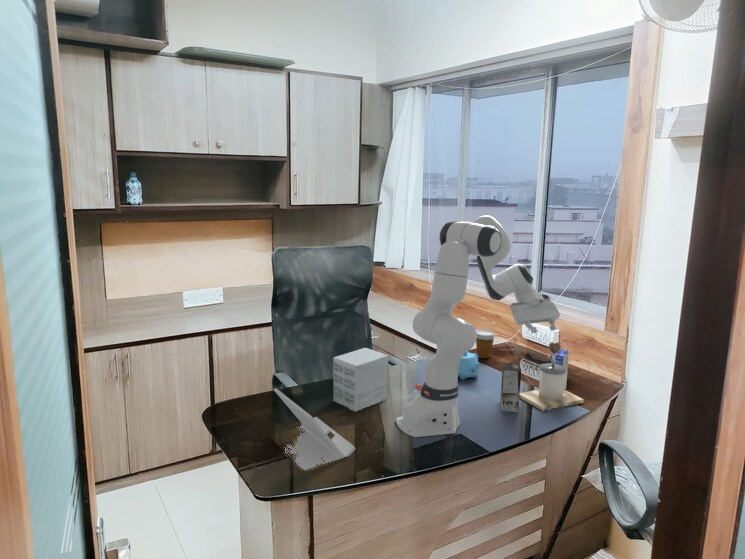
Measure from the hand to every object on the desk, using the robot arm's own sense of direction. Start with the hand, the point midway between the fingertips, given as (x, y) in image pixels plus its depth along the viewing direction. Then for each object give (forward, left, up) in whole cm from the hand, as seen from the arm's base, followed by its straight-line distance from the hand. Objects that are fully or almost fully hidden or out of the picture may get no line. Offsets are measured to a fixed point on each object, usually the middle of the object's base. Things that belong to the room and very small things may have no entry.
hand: (544, 331), depth 202 cm
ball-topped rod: (0, -6, -13) cm, 14 cm away
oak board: (0, -6, -26) cm, 27 cm away
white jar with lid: (0, -6, -25) cm, 25 cm away
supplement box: (-69, +21, -26) cm, 77 cm away
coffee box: (-19, -5, -26) cm, 33 cm away
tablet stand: (-97, -5, -27) cm, 100 cm away
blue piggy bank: (-18, +28, -26) cm, 42 cm away
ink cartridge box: (+19, +10, -26) cm, 34 cm away
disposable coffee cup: (+6, +46, -26) cm, 53 cm away
